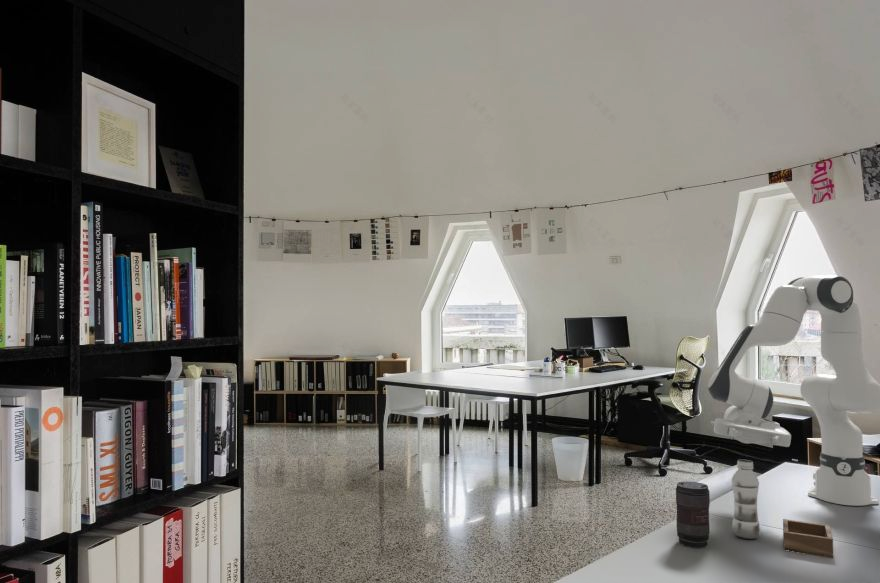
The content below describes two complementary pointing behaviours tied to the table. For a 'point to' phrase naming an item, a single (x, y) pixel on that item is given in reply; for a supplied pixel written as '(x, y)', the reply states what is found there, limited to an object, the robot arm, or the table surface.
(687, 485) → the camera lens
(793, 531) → the open wooden box
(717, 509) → the table surface
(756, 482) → the plastic bottle
